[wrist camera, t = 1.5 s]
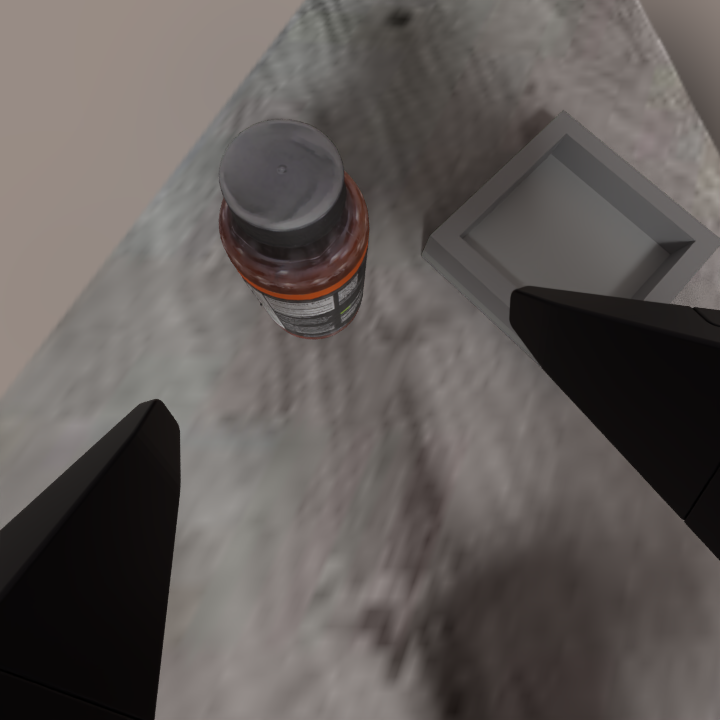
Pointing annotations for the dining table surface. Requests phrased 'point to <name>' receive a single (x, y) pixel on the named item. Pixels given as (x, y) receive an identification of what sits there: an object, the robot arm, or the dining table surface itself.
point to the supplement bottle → (294, 226)
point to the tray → (568, 229)
